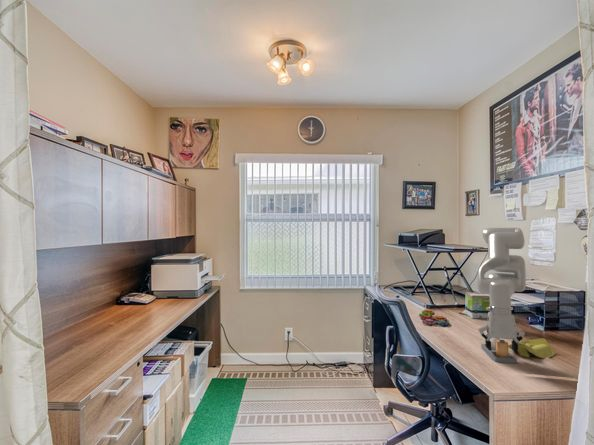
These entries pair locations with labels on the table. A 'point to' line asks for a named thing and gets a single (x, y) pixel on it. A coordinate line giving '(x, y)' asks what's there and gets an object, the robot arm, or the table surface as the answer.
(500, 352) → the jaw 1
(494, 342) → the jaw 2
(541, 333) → the table surface
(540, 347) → the plastic component
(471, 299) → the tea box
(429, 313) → the gear puzzle
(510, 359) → the housing
